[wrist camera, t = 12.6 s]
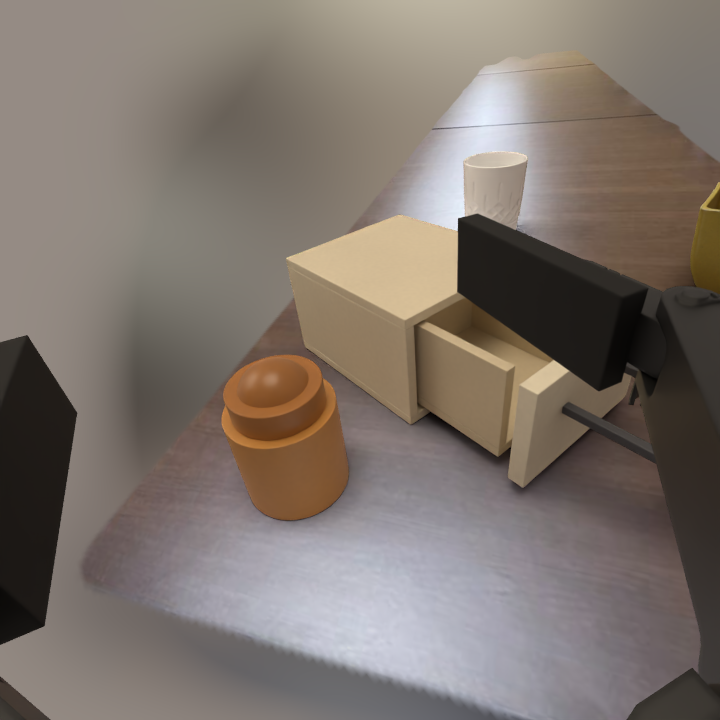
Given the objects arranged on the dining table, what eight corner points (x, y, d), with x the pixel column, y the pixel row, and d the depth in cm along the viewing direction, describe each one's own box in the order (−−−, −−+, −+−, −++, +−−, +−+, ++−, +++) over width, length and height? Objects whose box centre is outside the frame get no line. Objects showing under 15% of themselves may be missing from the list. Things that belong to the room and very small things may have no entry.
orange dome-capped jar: (280, 541, 28) (238, 426, 23) (232, 474, 33) (187, 365, 27) (369, 478, 32) (353, 364, 26) (313, 425, 37) (288, 319, 31)
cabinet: (520, 351, 42) (532, 252, 36) (410, 425, 35) (405, 320, 30) (404, 297, 52) (399, 214, 46) (304, 347, 46) (285, 258, 40)
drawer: (738, 448, 29) (792, 350, 25) (640, 571, 24) (687, 473, 19) (474, 326, 44) (478, 250, 39) (376, 385, 38) (367, 304, 34)
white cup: (503, 250, 59) (510, 169, 54) (451, 240, 64) (451, 164, 58) (529, 229, 64) (538, 153, 58) (478, 221, 68) (482, 150, 63)
